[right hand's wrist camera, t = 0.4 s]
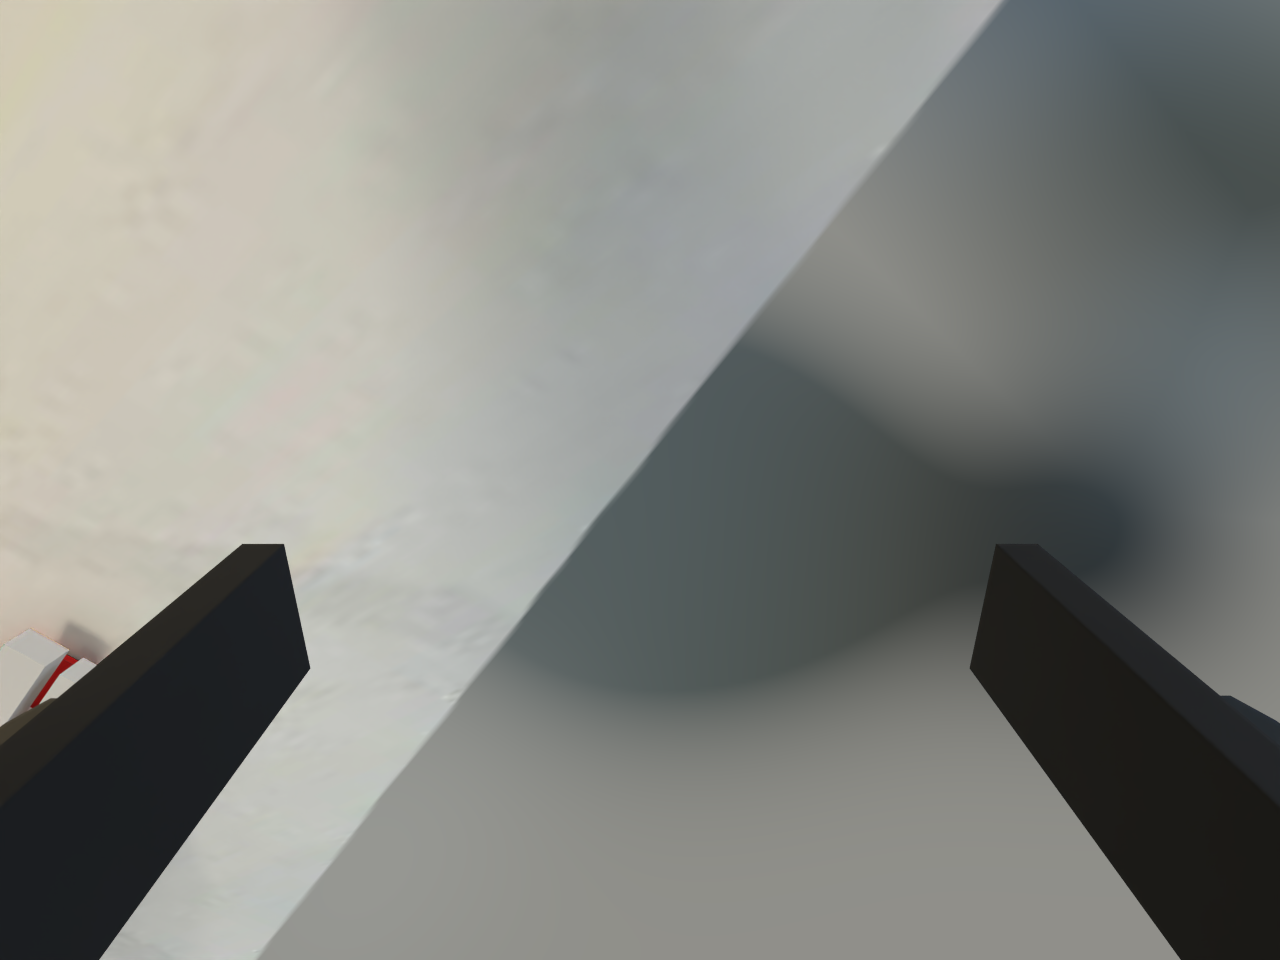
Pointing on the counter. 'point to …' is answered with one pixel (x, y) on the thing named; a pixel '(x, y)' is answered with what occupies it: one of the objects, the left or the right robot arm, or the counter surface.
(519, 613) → the counter surface
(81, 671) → the toy
